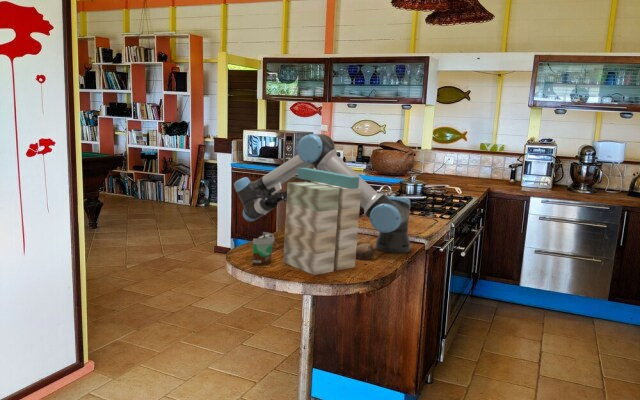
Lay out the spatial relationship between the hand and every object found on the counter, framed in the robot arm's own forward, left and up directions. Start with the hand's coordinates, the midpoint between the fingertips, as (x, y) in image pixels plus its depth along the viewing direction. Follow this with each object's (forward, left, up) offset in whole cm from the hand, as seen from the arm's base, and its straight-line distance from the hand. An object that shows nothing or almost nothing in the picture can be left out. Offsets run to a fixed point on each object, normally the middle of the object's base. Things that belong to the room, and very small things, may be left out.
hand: (293, 185), depth 206 cm
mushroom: (-30, +7, -27) cm, 41 cm away
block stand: (-13, +21, -26) cm, 36 cm away
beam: (-14, +14, +4) cm, 20 cm away
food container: (+7, +24, -27) cm, 36 cm away
